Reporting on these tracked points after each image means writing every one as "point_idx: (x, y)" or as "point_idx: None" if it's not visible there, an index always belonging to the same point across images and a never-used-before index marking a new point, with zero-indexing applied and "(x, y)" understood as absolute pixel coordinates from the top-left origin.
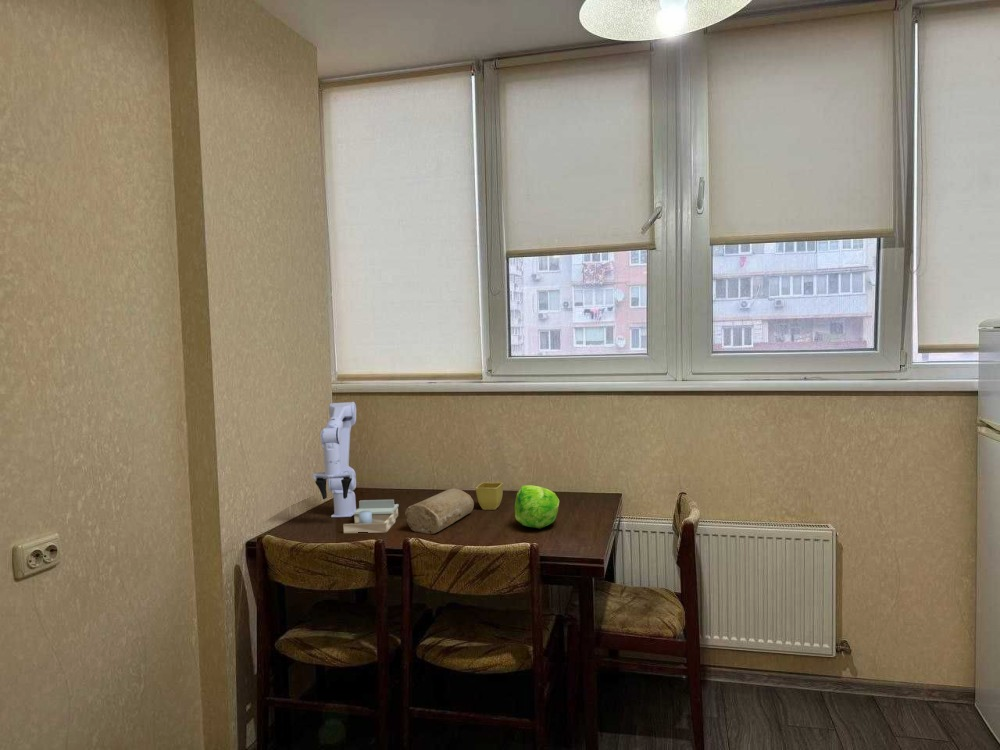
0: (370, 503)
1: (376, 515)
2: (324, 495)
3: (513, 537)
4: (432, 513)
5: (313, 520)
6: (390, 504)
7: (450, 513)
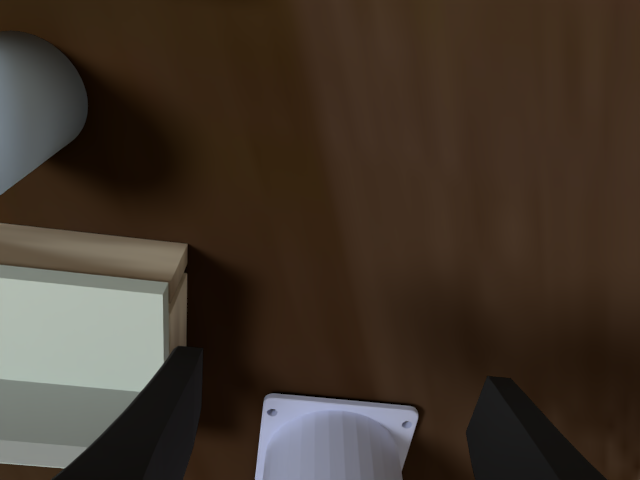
0: (17, 418)
1: None
2: (503, 419)
3: None
4: None
5: (539, 370)
6: None
7: None
